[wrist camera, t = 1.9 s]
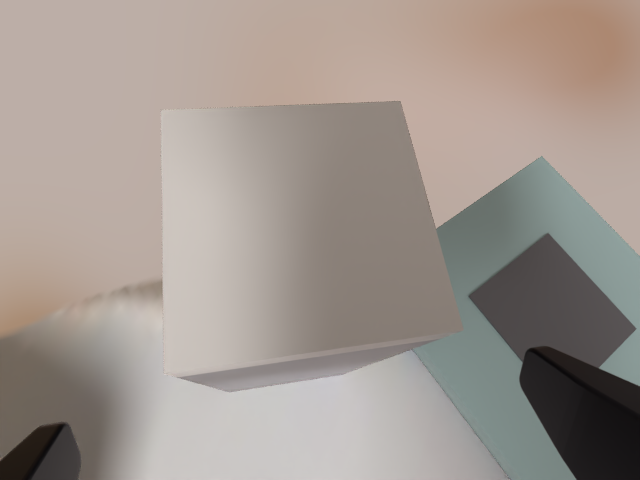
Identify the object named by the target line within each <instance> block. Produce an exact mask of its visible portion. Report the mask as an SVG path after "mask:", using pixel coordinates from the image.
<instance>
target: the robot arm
mask: <svg viewBox="0 0 640 480" xmlns="http://www.w3.org/2000/svg"><path fill="white" fill-rule="evenodd" d="M519 382H520V386H521V388H522V391H523V392H524V394H525V396H526V398H527V399H528V401H529V403H530V405H531V406H532V408H533V410H534V411H535V413H536V415H537V417H538V418H539V420H540V422H541V424H542V425H543V427H544V429H545V431H546V432H547V434H548V436H549V438H550V439H551V441H552V443H553V444H554V446H555V448H556V449H557V451H558V453H559V454H560V456H561V458H562V459H563V461H564V462H565V464H566V465H567V467H568V468H569V470H570V471H571V473H572V474H573V475H574V477H575V478H576V480H640V386H638V385H636V384H634V383H631V382H629V381H627V380H625V379H622V378H620V377H618V376H615V375H613V374H611V373H609V372H606V371H604V370H602V369H600V368H597V367H595V366H593V365H590V364H588V363H586V362H584V361H581V360H579V359H577V358H575V357H572V356H570V355H568V354H565V353H563V352H561V351H559V350H556V349H554V348H552V347H549V346H538V347H531V348H529V349H527V350H526V352H525V355H524V359H523V363H522V367H521V371H520V376H519ZM80 467H81V455H80V451H79V449H78V446H77V443H76V441H75V438H74V435H73V433H72V430H71V427H70V426H69V424H68V423H66V422H59V423H53V424H46V425H42V426H40V427H38V428H37V429H35V430H34V431H33V432H32V433H31V434H30V435H29V436H28V437H26V438H25V439H24V440H23V441H22V442H21V443H20V444H19V445H17V446H16V447H15V448H14V449H13V450H12V451H11V452H10V453H9V454H7V455H6V456H5V457H4V458H3V459H2V460H1V461H0V480H78V477H79V472H80Z"/></svg>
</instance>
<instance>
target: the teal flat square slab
mask: <svg viewBox="0 0 640 480" xmlns="http://www.w3.org/2000/svg"><path fill="white" fill-rule="evenodd" d="M436 231H437V235H438V239H439V242H440V246H441V249H442V253H443V257H444V260H445V264H446V267H447V271H448V275H449V278H450V282H451V286H452V289H453V293H454V296H455V300H456V304H457V307H458V311H459V314H460V318H461V322H462V325H463V329H464V330H463V331H461V332H458V333H455V334H452V335H450V336H447V337H444V338H441V339H439V340H436V341H433V342H430V343H428V344H425V345H422V346H419V347H417V348H414V349H413V350H414V352H415V353H416V354H417V356H418V357H419V358H420V360H421V361H422V362H423V364H424V365H425V366H426V368H427V369H428V370H429V372H430V373H431V374H432V376H433V377H434V378H435V380H436V381H437V382H438V384H439V385H440V386H441V388H442V389H443V390H444V392H445V393H446V394H447V396H448V397H449V398H450V400H451V401H452V402H453V403H454V405H455V406H456V407H457V409H458V410H459V411H460V413H461V414H462V415H463V417H464V418H465V419H466V421H467V422H468V423H469V425H470V426H471V427H472V429H473V430H474V431H475V433H476V434H477V435H478V437H479V438H480V439H481V441H482V442H483V443H484V445H485V446H486V447H487V449H488V450H489V451H490V453H491V454H492V455H493V457H494V458H495V459H496V461H497V462H498V463H499V465H500V466H501V467H502V469H503V470H504V471H505V473H506V474H507V475H508V477H509V478H510V479H511V480H576V478H575V477H574V475H573V474H572V473H571V471H570V470H569V468H568V467H567V465H566V464H565V462H564V461H563V459H562V458H561V456H560V454H559V453H558V451H557V449H556V448H555V446H554V444H553V443H552V441H551V439H550V438H549V436H548V434H547V432H546V431H545V429H544V427H543V425H542V424H541V422H540V420H539V418H538V417H537V415H536V413H535V411H534V410H533V408H532V406H531V405H530V403H529V401H528V399H527V398H526V396H525V394H524V392H523V391H522V388H521V386H520V382H519V376H520V371H521V367H522V363H523V359H524V355H525V352H526V350H527V349H529V348H531V347H538V346H549V347H552V348H554V349H556V350H559V351H561V352H563V353H565V354H568V355H570V356H572V357H575V358H577V359H579V360H581V361H584V362H586V363H588V364H590V365H593V366H595V367H597V368H600V369H602V370H604V371H606V372H609V373H611V374H613V375H615V376H618V377H620V378H622V379H625V380H627V381H629V382H631V383H634V384H636V385H638V386H640V256H639V255H638V254H637V253H636V252H635V251H634V250H633V249H632V248H631V247H630V246H629V245H628V244H627V243H626V242H625V241H624V240H623V239H622V238H621V237H620V236H619V235H618V234H617V232H615V230H614V229H613V228H612V227H611V226H610V225H609V224H608V223H607V222H606V221H605V220H604V219H603V218H602V217H601V216H600V215H599V214H598V213H597V212H596V211H595V210H594V209H593V208H592V207H591V206H590V205H589V204H588V203H587V202H586V201H585V200H584V199H583V198H582V197H581V196H580V195H579V194H578V193H577V192H576V190H575V189H573V187H571V185H570V184H569V183H568V182H567V181H566V180H565V179H564V178H563V177H562V176H561V175H560V174H559V173H558V172H557V171H556V170H555V169H554V168H553V167H552V166H551V165H550V164H549V163H548V162H547V161H546V160H545V159H544V158H543V157H542V156H541V157H540V158H538V159H537V160H535V161H534V162H533V163H531V164H529V165H528V166H527V167H525V168H524V169H522V170H521V171H519V172H518V173H516V174H515V175H514V176H512V177H511V178H509V179H508V180H506V181H505V182H503V183H502V184H501V185H499V186H498V187H496V188H495V189H493V190H492V191H490V192H489V193H488V194H486V195H485V196H483V197H482V198H480V199H479V200H477V201H476V202H475V203H473V204H472V205H470V206H469V207H467V208H466V209H464V210H463V211H462V212H460V213H459V214H457V215H456V216H454V217H453V218H452V219H450V220H449V221H447V222H446V223H444V224H443V225H441V226H440V227H438V228H437V229H436Z"/></svg>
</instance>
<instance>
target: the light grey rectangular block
mask: <svg viewBox="0 0 640 480" xmlns="http://www.w3.org/2000/svg"><path fill="white" fill-rule="evenodd" d="M161 170H162V171H161V174H162V175H161V179H162V180H161V181H162V256H163V257H162V262H163V263H162V267H163V352H164V374H166V375H170V376H174V377H177V378H181V379H184V380H188V381H191V382H195V383H198V384H202V385H205V386H209V387H213V388H216V389H220V390H223V391H227V392H234V391H240V390H247V389H253V388H259V387H266V386H272V385H279V384H285V383H291V382H298V381H304V380H311V379H317V378H323V377H330V376H336V375H342V374H345V373H348V372H351V371H353V370H356V369H359V368H362V367H364V366H367V365H370V364H373V363H375V362H378V361H381V360H384V359H386V358H389V357H392V356H395V355H397V354H400V353H403V352H406V351H408V350H411V349H414V348H417V347H419V346H422V345H425V344H428V343H430V342H433V341H436V340H439V339H441V338H444V337H447V336H450V335H452V334H455V333H458V332H461V331H463V330H464V329H463V325H462V322H461V318H460V314H459V311H458V307H457V304H456V300H455V296H454V293H453V289H452V286H451V282H450V278H449V275H448V271H447V267H446V264H445V260H444V257H443V253H442V249H441V246H440V242H439V239H438V235H437V231H436V228H435V224H434V221H433V217H432V213H431V210H430V206H429V203H428V199H427V196H426V192H425V188H424V185H423V181H422V177H421V174H420V170H419V167H418V163H417V159H416V156H415V152H414V149H413V145H412V141H411V138H410V134H409V131H408V127H407V124H406V120H405V116H404V113H403V109H402V105H401V102H400V101H392V102H366V103H365V102H364V103H337V104H312V105H311V104H309V105H283V106H255V107H229V108H228V107H227V108H199V109H173V110H161Z"/></svg>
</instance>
